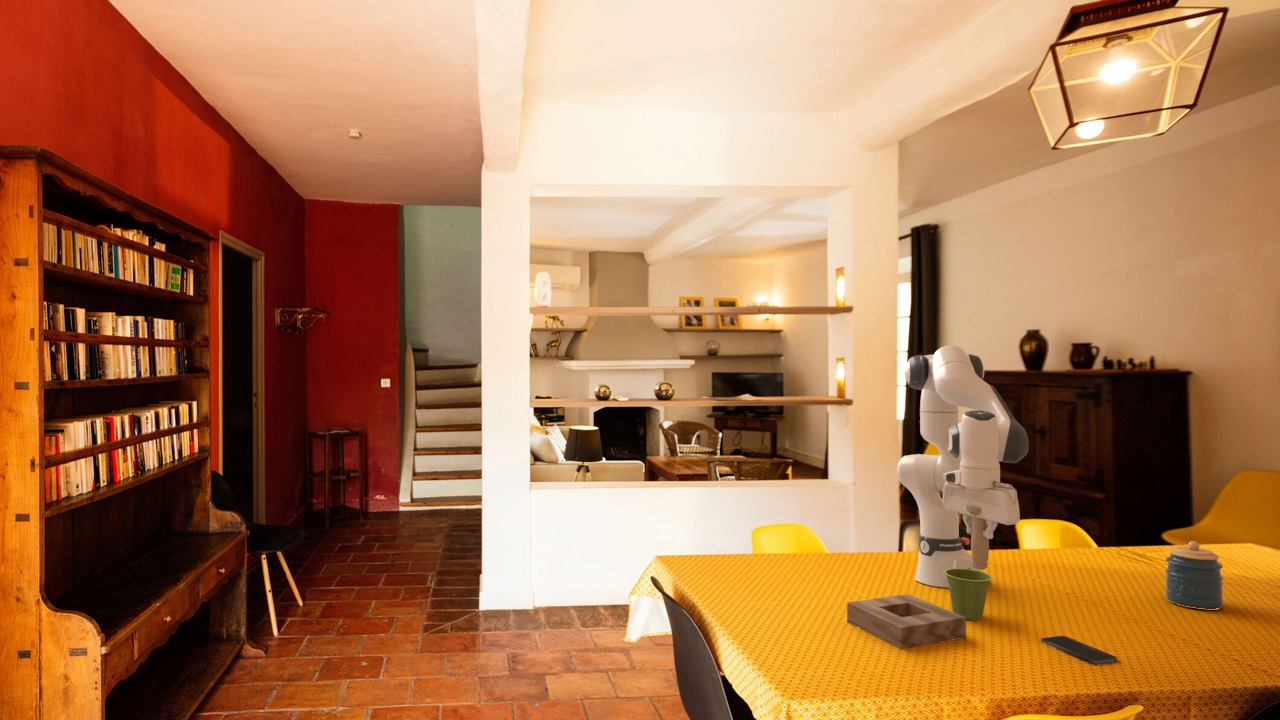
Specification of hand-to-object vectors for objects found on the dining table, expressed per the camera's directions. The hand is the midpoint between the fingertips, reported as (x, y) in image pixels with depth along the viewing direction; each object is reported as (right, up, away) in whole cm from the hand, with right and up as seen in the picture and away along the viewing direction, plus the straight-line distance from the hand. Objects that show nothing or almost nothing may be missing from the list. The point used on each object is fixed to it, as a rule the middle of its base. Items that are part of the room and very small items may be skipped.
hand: (979, 536), depth 179 cm
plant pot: (+6, -26, +19) cm, 33 cm away
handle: (0, -8, 0) cm, 8 cm away
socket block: (-15, -26, +9) cm, 31 cm away
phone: (+21, -26, -5) cm, 34 cm away
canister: (+74, -27, +30) cm, 84 cm away
